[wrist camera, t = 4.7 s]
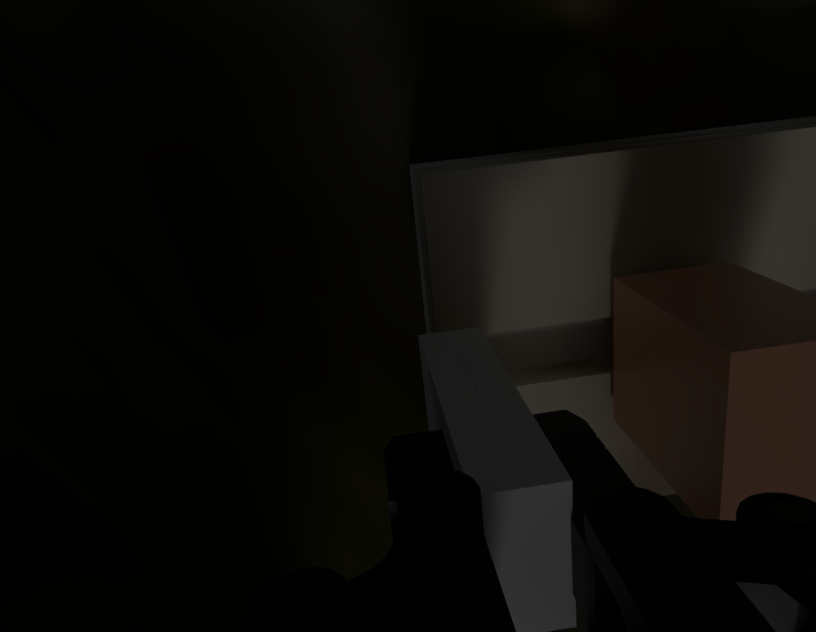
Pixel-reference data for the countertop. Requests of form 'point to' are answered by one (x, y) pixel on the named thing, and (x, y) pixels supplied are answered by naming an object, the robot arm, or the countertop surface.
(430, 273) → the panel
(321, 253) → the countertop surface
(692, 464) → the fader tab
